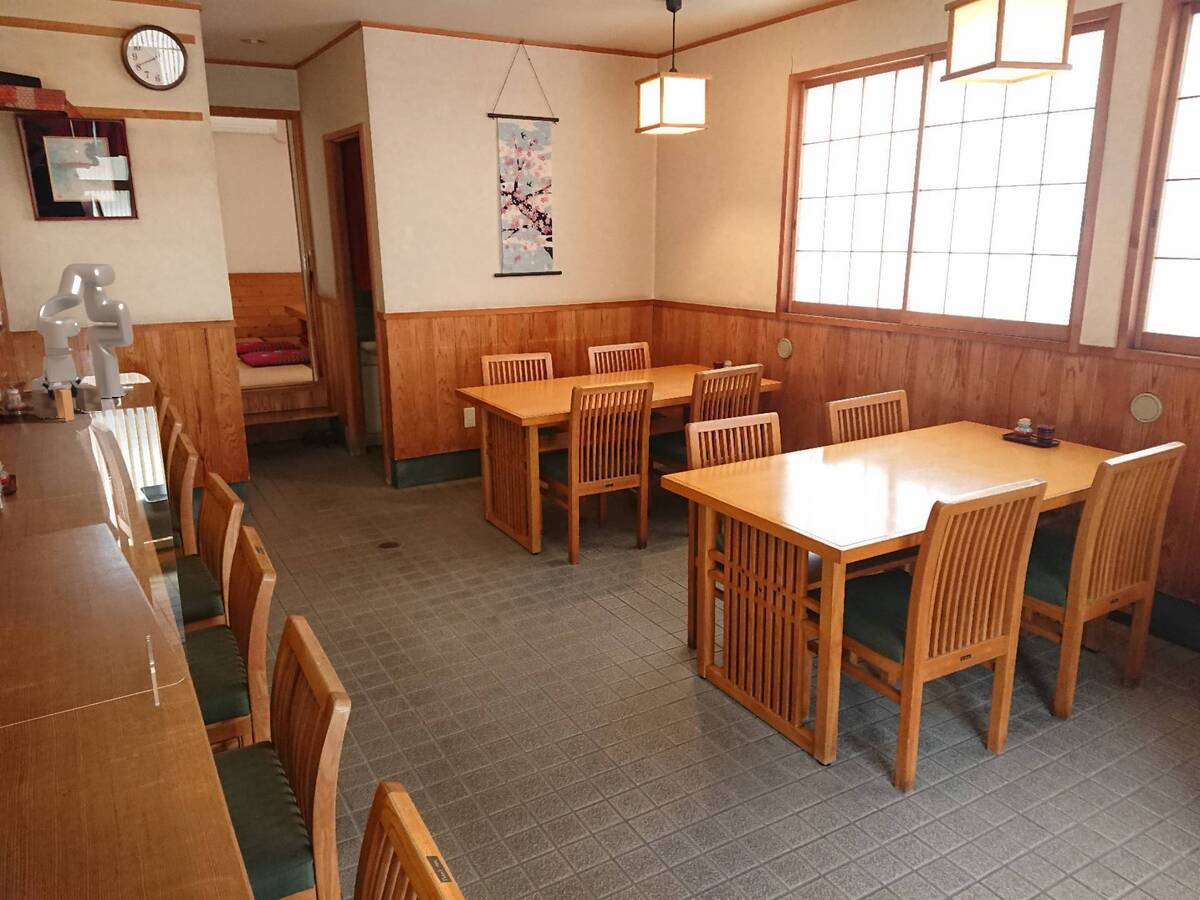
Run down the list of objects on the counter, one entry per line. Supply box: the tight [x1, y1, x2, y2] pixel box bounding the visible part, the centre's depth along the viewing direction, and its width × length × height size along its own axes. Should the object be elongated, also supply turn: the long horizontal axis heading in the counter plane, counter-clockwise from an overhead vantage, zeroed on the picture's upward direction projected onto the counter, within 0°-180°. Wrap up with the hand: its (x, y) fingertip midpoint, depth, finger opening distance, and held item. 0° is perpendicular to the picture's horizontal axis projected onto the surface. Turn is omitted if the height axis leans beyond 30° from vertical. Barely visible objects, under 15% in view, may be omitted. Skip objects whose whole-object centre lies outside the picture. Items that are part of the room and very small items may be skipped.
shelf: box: [30, 383, 103, 420], centre depth 333 cm, size 21×10×10 cm, turn 140°
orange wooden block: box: [54, 388, 75, 422], centre depth 322 cm, size 3×8×12 cm, turn 50°
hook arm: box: [42, 382, 90, 392], centre depth 332 cm, size 16×2×2 cm, turn 140°
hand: (63, 397), depth 321 cm, fingers open, 6 cm apart
